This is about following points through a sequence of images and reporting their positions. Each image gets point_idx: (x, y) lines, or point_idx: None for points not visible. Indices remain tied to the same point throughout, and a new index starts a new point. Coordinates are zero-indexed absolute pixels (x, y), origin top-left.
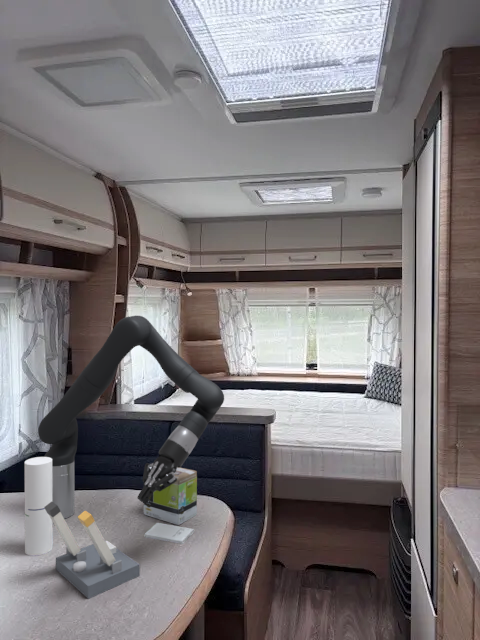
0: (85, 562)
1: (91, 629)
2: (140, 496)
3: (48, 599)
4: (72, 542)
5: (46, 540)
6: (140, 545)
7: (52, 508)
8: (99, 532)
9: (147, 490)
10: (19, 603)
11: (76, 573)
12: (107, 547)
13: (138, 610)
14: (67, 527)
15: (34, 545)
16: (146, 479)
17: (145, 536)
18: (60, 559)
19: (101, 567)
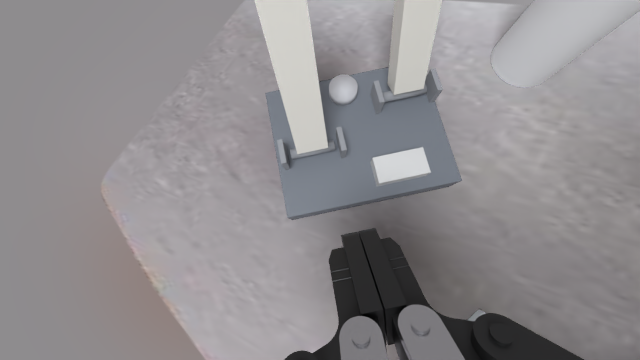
0: (344, 99)
1: (185, 91)
2: (353, 240)
3: None
4: (394, 55)
5: (514, 52)
6: (433, 278)
7: None
8: (269, 53)
9: (355, 299)
10: (325, 10)
11: (328, 84)
12: (286, 113)
13: (181, 174)
14: (402, 1)
15: (507, 32)
16: (483, 356)
17: (478, 311)
18: None
19: None
